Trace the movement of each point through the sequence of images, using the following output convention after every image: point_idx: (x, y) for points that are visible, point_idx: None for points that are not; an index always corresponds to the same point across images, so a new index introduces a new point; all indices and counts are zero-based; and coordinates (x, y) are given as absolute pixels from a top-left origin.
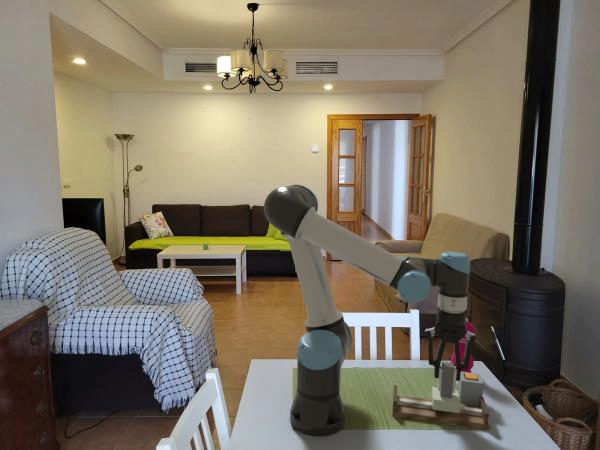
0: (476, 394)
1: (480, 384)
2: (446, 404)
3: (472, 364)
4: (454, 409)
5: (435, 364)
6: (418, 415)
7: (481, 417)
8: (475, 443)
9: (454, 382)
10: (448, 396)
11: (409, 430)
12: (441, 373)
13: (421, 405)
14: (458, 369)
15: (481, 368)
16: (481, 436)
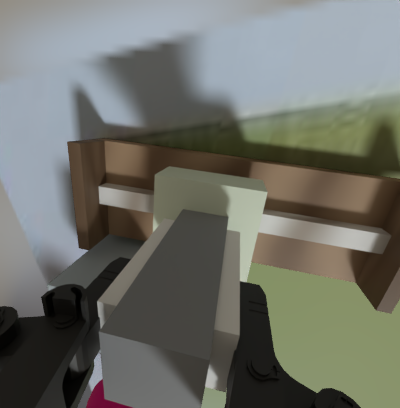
0: (97, 260)
1: (61, 283)
2: (212, 179)
3: (92, 392)
4: (184, 171)
5: (281, 394)
6: (313, 169)
7: (108, 175)
8: (149, 50)
9: (149, 246)
10: (195, 213)
11: (368, 91)
12: (223, 298)
13: (291, 216)
14: (70, 307)
15: (90, 381)
16: (125, 97)
